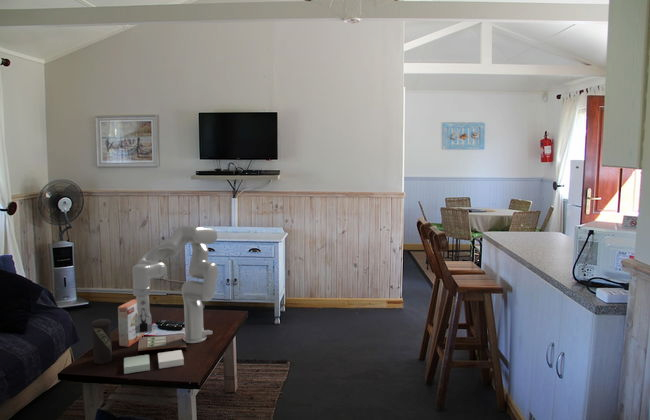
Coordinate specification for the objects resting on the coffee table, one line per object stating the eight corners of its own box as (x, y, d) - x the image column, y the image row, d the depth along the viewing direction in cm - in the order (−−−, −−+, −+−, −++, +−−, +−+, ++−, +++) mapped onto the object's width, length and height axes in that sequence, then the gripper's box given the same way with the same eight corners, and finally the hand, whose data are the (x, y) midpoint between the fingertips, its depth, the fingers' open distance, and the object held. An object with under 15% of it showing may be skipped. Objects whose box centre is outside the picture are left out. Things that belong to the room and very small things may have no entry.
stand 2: (181, 355, 244) (181, 349, 244) (183, 364, 234) (183, 358, 234) (157, 359, 240) (157, 353, 240) (159, 368, 230) (158, 362, 230)
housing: (151, 327, 234) (150, 311, 233) (151, 331, 229) (151, 314, 228) (135, 329, 231) (134, 312, 231) (135, 333, 226) (135, 316, 226)
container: (100, 366, 232) (98, 325, 230) (89, 361, 237) (86, 321, 234) (117, 359, 239) (114, 319, 237) (105, 355, 244) (103, 316, 242)
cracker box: (129, 347, 254) (127, 307, 251) (118, 346, 255) (116, 306, 252) (144, 337, 268) (142, 299, 265) (134, 336, 269) (132, 298, 266)
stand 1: (149, 360, 239) (148, 354, 238) (150, 370, 229) (149, 363, 228) (124, 363, 235) (124, 357, 234) (124, 373, 225) (123, 367, 224)
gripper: (152, 295, 222) (153, 334, 224) (149, 285, 237) (150, 322, 240) (134, 297, 219) (135, 336, 221) (132, 287, 235) (133, 324, 237)
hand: (143, 329), depth 230 cm, fingers closed on housing, 5 cm apart
